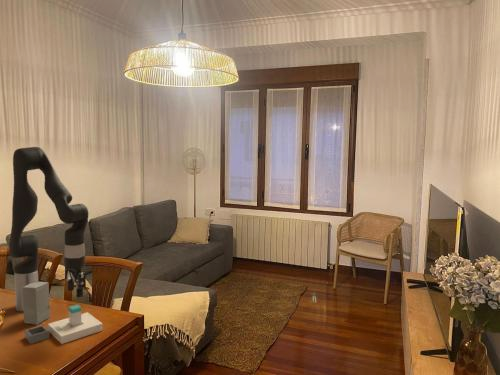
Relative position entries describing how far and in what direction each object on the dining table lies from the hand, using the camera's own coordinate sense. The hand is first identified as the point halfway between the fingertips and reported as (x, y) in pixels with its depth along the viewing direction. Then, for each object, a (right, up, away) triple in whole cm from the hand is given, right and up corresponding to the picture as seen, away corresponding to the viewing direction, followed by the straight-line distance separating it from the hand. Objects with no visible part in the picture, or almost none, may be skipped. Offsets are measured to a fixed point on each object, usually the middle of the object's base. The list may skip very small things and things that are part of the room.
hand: (75, 293), depth 157 cm
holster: (-13, -16, -5) cm, 21 cm away
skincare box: (-21, -14, +10) cm, 27 cm away
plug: (-1, -15, +1) cm, 16 cm away
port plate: (-1, -15, +1) cm, 16 cm away
